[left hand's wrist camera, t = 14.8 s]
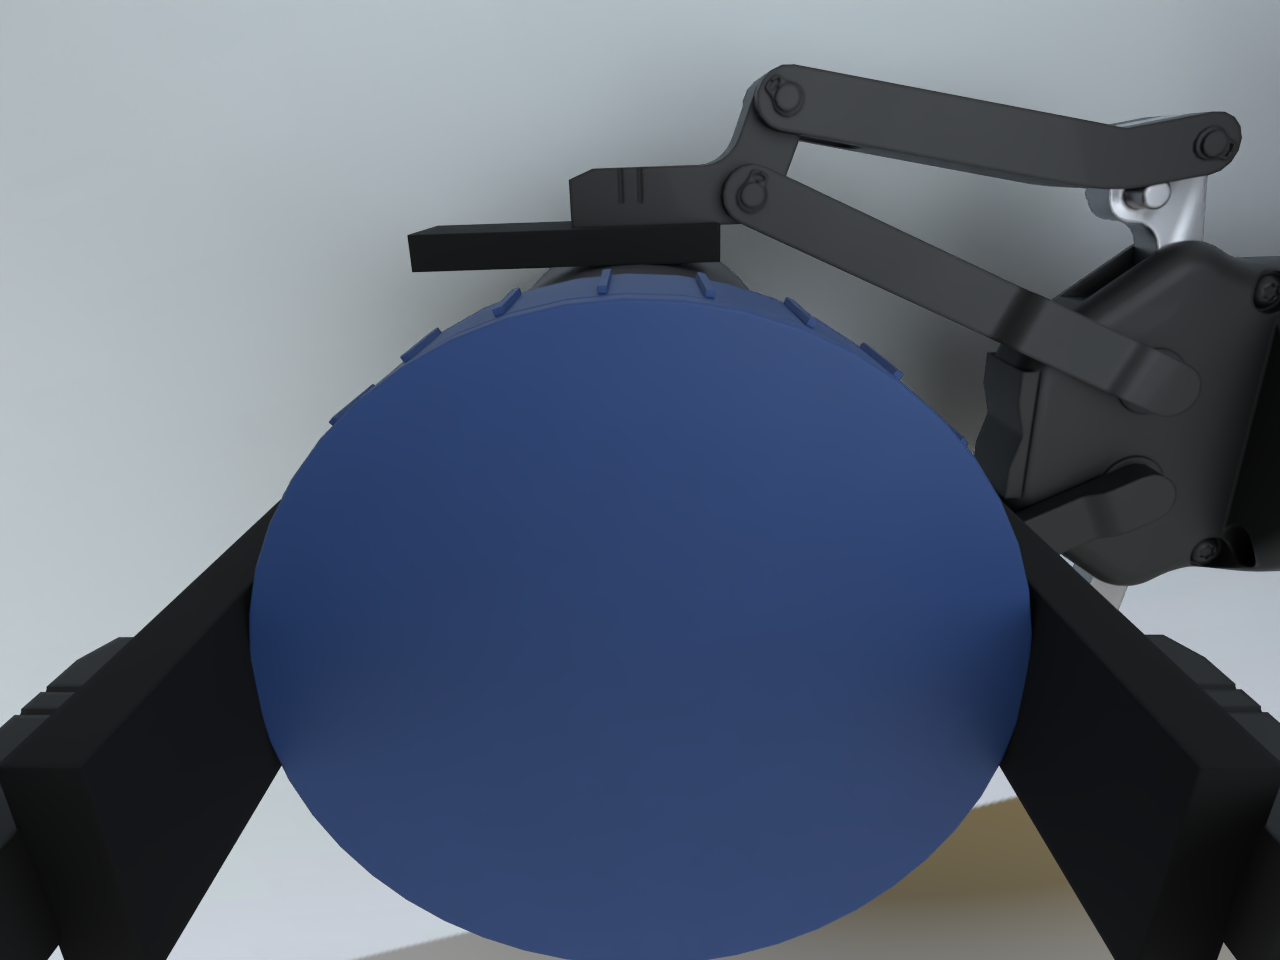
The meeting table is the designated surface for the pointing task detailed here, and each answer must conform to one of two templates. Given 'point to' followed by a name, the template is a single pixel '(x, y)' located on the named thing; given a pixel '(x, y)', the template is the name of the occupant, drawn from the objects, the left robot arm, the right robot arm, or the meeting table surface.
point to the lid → (640, 623)
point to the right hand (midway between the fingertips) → (450, 441)
